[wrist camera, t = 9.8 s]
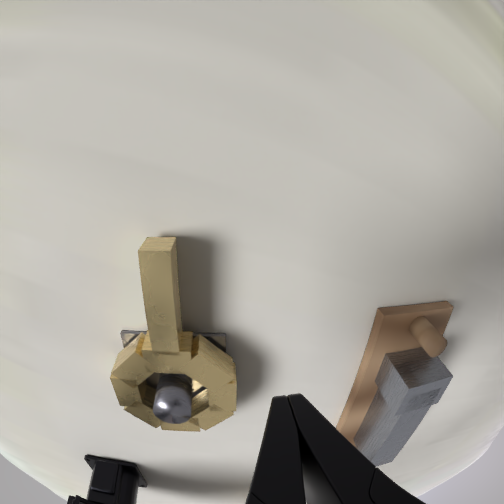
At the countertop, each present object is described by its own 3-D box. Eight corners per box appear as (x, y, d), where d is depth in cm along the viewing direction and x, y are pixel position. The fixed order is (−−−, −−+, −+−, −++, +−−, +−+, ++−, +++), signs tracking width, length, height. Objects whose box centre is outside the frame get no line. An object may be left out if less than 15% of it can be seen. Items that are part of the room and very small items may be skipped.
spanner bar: (384, 431, 25) (397, 459, 21) (346, 440, 24) (358, 471, 21) (428, 345, 20) (453, 376, 17) (385, 353, 20) (408, 388, 16)
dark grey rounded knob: (226, 401, 21) (228, 442, 18) (139, 398, 21) (131, 437, 17) (225, 333, 19) (227, 376, 15) (121, 330, 18) (105, 370, 14)
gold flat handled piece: (234, 411, 21) (235, 431, 19) (132, 407, 20) (128, 426, 18) (238, 237, 16) (240, 251, 14) (93, 237, 15) (78, 250, 13)
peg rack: (380, 439, 27) (392, 464, 23) (325, 451, 26) (334, 480, 23) (446, 301, 20) (475, 327, 17) (377, 308, 20) (404, 341, 16)
